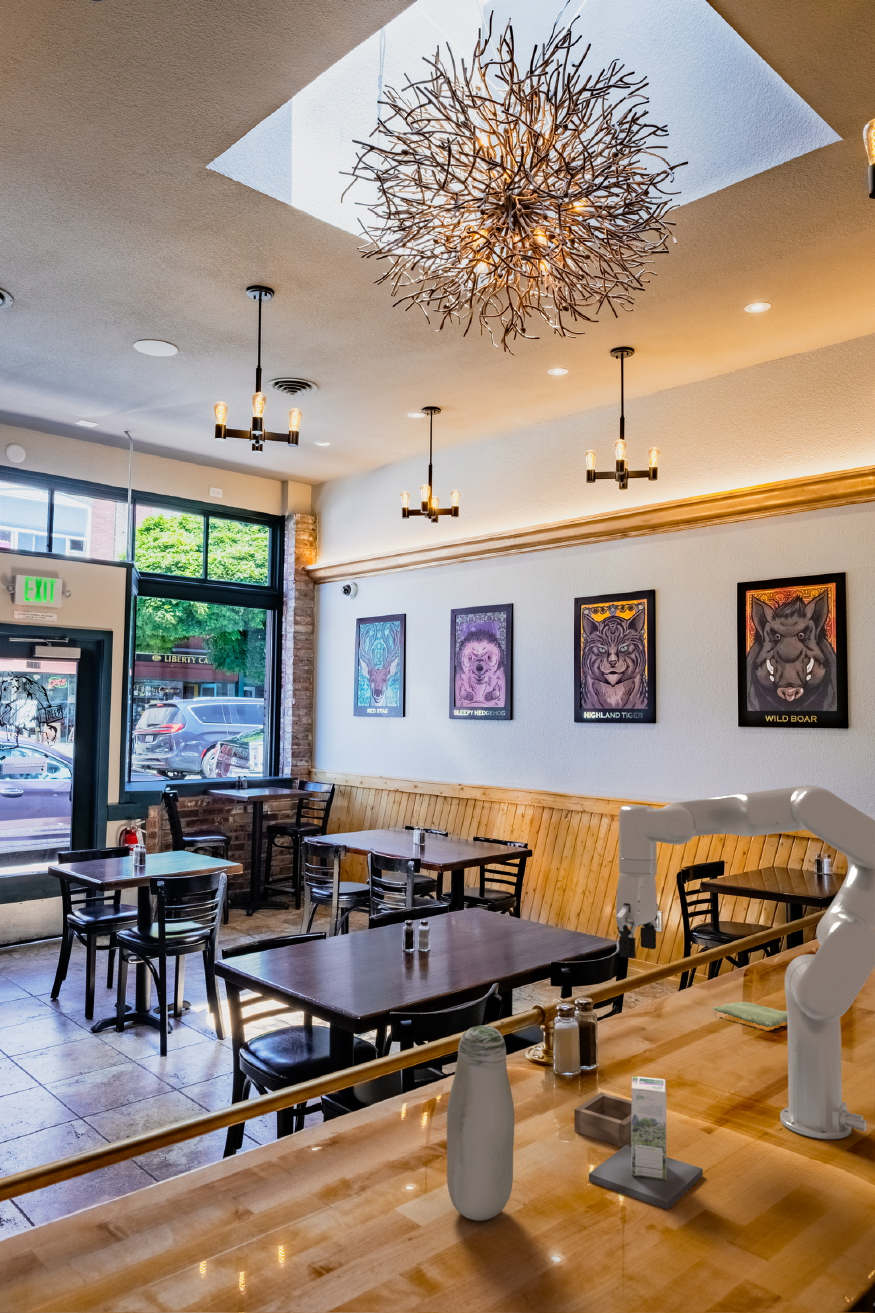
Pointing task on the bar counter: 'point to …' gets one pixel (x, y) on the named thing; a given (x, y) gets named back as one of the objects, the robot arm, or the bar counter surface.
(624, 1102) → the walnut holder
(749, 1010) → the washcloth
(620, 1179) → the serving board
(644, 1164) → the syrup box
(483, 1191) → the white bottle
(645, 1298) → the bar counter surface
